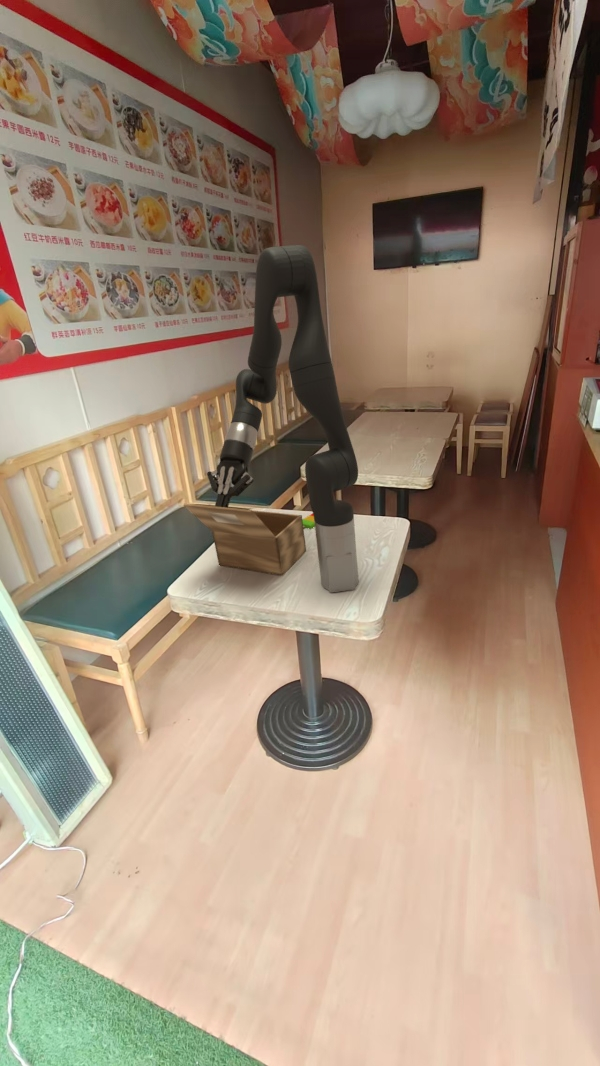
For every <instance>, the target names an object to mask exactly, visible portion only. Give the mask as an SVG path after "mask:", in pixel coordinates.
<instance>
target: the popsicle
mask: <svg viewBox="0 0 600 1066" xmlns="http://www.w3.org/2000/svg"><path fill="white" fill-rule="evenodd" d="M302 521H303V529H308V528H309V530H312V529H314V528H315V522H314V515H313V513H311V514H310V515H307V516H306V517H304V518H302ZM313 527H314V528H313Z"/></svg>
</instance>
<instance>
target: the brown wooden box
mask: <svg viewBox="0 0 600 1066" xmlns="http://www.w3.org/2000/svg"><path fill="white" fill-rule="evenodd" d="M251 510H252V509H251ZM252 511H253V512H254V513H255V514H256V515H257V517H258V518H259V519H260V520H261V521H262V522H263V523H264V524H265V526H266V527H267V528H268V529H269V530H270V531H271V532H272V533H273V535H274V536H275V537H276V538H275V539H271V538H263V537H255V536H247V535H239V534H231V533H223V532H215V531H211V533H212V537H213V542H214V543H213V544H214V546H215V547H214V548H215V553H216V557H217V562H218V566H219V565H220V566H219V567H225V568H230V569H231V568H232V569H237V570H243V571H249V572H250V571H251V572H255V573H262V574H263V573H264V574H269V575H275V576H280V577H281V576H282V577H283V576H284V575H285V574H286V573H287V572H288V571H289V570H290V569H291V567H293V566H294V564H296V562H297V561H298V560H299V559H301V557H302V556H303V555H304V554H305V553H306V552H307V549H306V548H307V545H306V539H305V530H304V529H305V528H303V521H302V519H303V515H302V514H291V513H283V512H272V511H263V510H262V511H261V510H252Z"/></svg>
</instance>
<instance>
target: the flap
mask: <svg viewBox="0 0 600 1066" xmlns="http://www.w3.org/2000/svg"><path fill="white" fill-rule="evenodd" d="M183 506H184V507H185V509H186V510H188V511H189V512H190V513H191V514H192V515H193V516H194V517H196V518H197V519H198V521H200V522H201V523H202V524H203V525H204V526H205V527H207V528H208V529H209V530H210V531H211V532H212V531H215V532H223V533H231V534H239V535H247V536H255V537H263V538H271V539H275V538H276V537H275V536H274V535H273V533H272V532H271V531H270V530H269V529H268V528H267V527H266V526H265V524H264V523H263V522H262V521H261V520H260V519H259V518H258V517H257V515H256V514H255V513H254V512H253V511H254V510H253V511H252V509H246V508H245V509H243V508H236V507H228V508H226V507H216V506H215V505H205V504H193V503H183Z"/></svg>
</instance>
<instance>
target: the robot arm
mask: <svg viewBox="0 0 600 1066" xmlns="http://www.w3.org/2000/svg"><path fill="white" fill-rule="evenodd" d="M255 270H256V271H255V285H254V287H255V288H254V289H255V290H254V307H253V308H254V311H253V312H254V315H253V317H254V318H253V331H252V339H251V342H250V347H249V353H248V357H247V365H248V368H244V369H242V370H241V371H239V373H238V374H237V376H236V378H235V407H234V412H233V415H232V418H231V422H230V425H229V428H228V430H227V432H226V434H225V437H224V442H223V445H222V448H221V452H220V455H219V463H218V465H216V468H215V469H214V471H212V472H211V471H208V472H207V473H206V475H207V479H208V482H209V484H210V487H211V490H212V491H213V492H215V493H216V494H217V497H216V501H215V504H214V506H216V507H226V508H229V505H230V501H231V500H232V499H233V497H239V496H240V495H241V494H242V493H243V492H244V491H245V490H246V489H247V488H248V487H249V486H250V485H251V484H253V482H254V478H253V477H252V476H251V475H250V474H249V466H250V465H251V461H252V458H253V455H254V451H255V447H256V443H257V440H258V439H257V438H258V433H259V429H260V426H261V421H262V419H263V413H262V410H261V409H260V408H259V407H258V406H256V405H254V404H253V403H251V402H250V401H249V400H251V401H255V402H257V403H261V404H264V405H265V404H270V403H272V402H273V400H275V398H276V396H277V391H278V382H277V381H278V380H277V364H278V360H279V357H280V355H281V351H282V343H283V342H282V334H281V330H280V328H279V326H278V323H277V322H276V321H277V320H276V318H275V316H274V315H275V314H274V309H275V306H276V301H277V299H278V298H284V297H294V300H295V304H296V305H295V306H296V312H297V326H296V330H295V333H294V334H295V335H294V339H293V341H292V345H291V349H290V351H289V352H290V353H289V357H288V371H289V375H290V379H291V384H292V387H293V392H294V394H295V398H296V399H297V400H298V402H299V403H300V404H301V406H303V408H304V409H305V410H306V412H308V413H309V414H310V415H311V417H313V419H314V420H316V422H317V423H318V424H319V425H320V428H321V429H322V430H323V431H322V432H323V433H324V436H325V438H326V441H327V444H328V450H325V451H321V452H319V453H315V454H313V455H310V456H309V457H308V458H307V460H306V462H305V466H304V467H305V468H304V474H305V480H306V488H307V493H308V497H309V499H308V500H309V505H310V508H311V512H312V514H313V515H314V522H315V527H314V529H315V531H314V532H315V539H316V548H317V549H316V550H317V556H318V557H317V558H318V566H319V567H318V568H319V574H320V584H321V586H322V587H323V589H325V590H327V591H329V593H337V592H345V591H352V590H356V586H357V585H358V583H359V570H358V569H359V568H358V557H357V556H358V555H357V554H358V553H357V543H356V532H355V531H356V530H355V517H354V515H355V514H354V507H353V505H352V504H351V503H350V502H348V501H346V500H342V499H335V498H334V493H335V492H338V491H342V490H345V489H347V488H350V487H351V486H354V485H355V484H356V483H357V481H358V477H359V467H358V461H357V457H356V454H355V453H356V452H355V449H354V447H353V444H352V441H351V437H350V435H349V432H348V428H347V425H346V422H345V418H344V413H343V410H342V405H341V402H340V396H339V391H338V387H337V381H336V377H335V371H334V368H333V367H334V366H333V362H332V361H333V360H332V358H331V354H330V350H329V346H328V340H327V337H326V336H327V335H326V330H325V326H324V321H323V314H322V308H321V300H320V292H319V291H320V290H319V283H318V277H317V270H316V265H315V261H314V259H313V255H312V254H311V251H310V250H309V249H308V248H307V247H306V246H305V245H301V244H298V245H297V244H294V245H293V244H292V245H282V246H280V245H279V246H270V247H266V248H264V249H263V250H262V251H261V252H260V255H259V257H258V260H257V264H256V269H255ZM248 399H249V400H248Z"/></svg>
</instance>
